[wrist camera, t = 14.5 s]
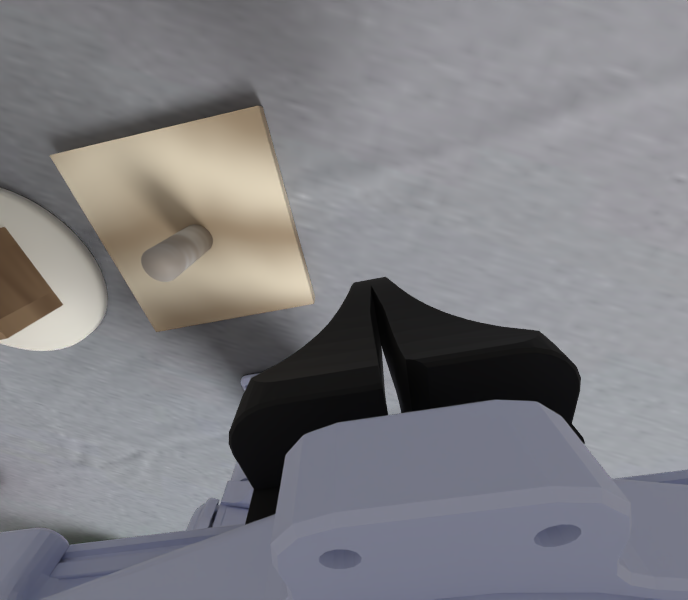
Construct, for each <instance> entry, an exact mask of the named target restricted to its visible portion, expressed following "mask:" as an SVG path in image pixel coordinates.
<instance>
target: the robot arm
mask: <svg viewBox="0 0 688 600" xmlns="http://www.w3.org/2000/svg"><path fill="white" fill-rule="evenodd" d="M381 346H382V348H381ZM382 349H383V352H384V355H385V358H386V361H387V364H388V368H389V371H390V374H391V377H392V380H393V383H394V386H395V389H396V392H397V396H398V400H399V404H400V408H401V413H400V414H393V415H388V411H387V405H386V398H385V388H384V375H383V361H382ZM240 382H241V385H242V387H243V389H244V391H245V392H244V394H243V397H242V399H241V402H240V404H239V407H238V410H237V412H236V415H235V418H234V420H233V423H232V426H231V429H230V431H229V445H230V448H231V451H232V453H233V455H234V457H235V459H236V460H237V462H236V465H235V468H234V471H233V474H232V477H231V480H229V481H228V482H227V485H226V488H225V491H224V494H223V497H222V500H221V504H220V505H218V503H219V500H218V499H215V498H209V499H208V500H207V502H206V503H204V504H203V505H201V506H200V507H199V508H197V509H196V511H195V512H194V514H193V516H192V518H191V520H190V522H189V525H188V527H187V529H186V531H179V532H170V533H162V534H154V535H146V536H137V537H129V538H121V539H113V540H104V541H96V542H88V543H80V544H71V545H69V543H68V541H67V540H66V539H65V538H64V537H63V536H62V535H61V534H59V533H58V532H56V531H54V530H51V529H47V528H29V529H21V530H13V531H5V532H0V600H688V470H682V471H674V472H665V473H657V474H649V475H641V476H632V477H624V478H616V479H613V478H611V477H610V476H609V475H608V474H607V472H606V471H605V470H604V469H603V467H602V466H601V465H600V464H599V462H598V461H597V460H596V459H595V457H594V456H593V455H592V454H591V452H590V451H589V450H588V449H587V447H586V446H585V445H584V444H585V442H584V439H583V437H582V436H581V435H580V433H579V432H578V431H577V430H576V428H575V427H574V426H573V425H572V420H573V416H574V413H575V409H576V405H577V401H578V397H579V393H580V382H581V377H580V375H579V372H578V369H577V367H576V365H575V364H574V363H573V362H572V361H571V360H570V359H569V358H568V357H567V356H566V355H565V354H564V353H563V352H562V351H561V350H560V349H559V348H558V347H557V346H556V345H555V344H554V343H553V342H551V341H550V340H549V339H548V338H547V337H546V336H545V335H543V334H542V333H541V332H540V331H535V330H526V329H518V328H509V327H501V326H495V325H490V324H485V323H480V322H475V321H471V320H467V319H464V318H460V317H457V316H454V315H451V314H448V313H445V312H442V311H440V310H438V309H435V308H433V307H431V306H429V305H426V304H424V303H423V302H421V301H419V300H417V299H415V298H414V297H412V296H410V295H409V294H408V293H406V292H405V291H403V290H402V289H400V288H399V287H398V286H397V285H395V284H394V283H393V282H392V281H390V280H389V279H388V278H386V277H382V278H377V279H371V280H366V281H360V282H355V283H353V285H352V286H351V288H350V291H349V293H348V295H347V297H346V299H345V300H344V302H343V304H342V305H341V307H340V309H339V310H338V311H337V313H336V314H335V316H334V317H333V318H332V320H331V321H330V322H329V324H328V325H327V326H326V327H325V328H324V329H323V330H322V331H321V332H320V333H319V334H318V335H317V336H316V337H314V338H313V339H312V340H311V341H310V342H308V343H307V344H306V345H305V346H304V347H302V348H301V349H300V350H298V351H297V352H296V353H294V354H293V355H291V356H290V357H288V358H286V359H285V360H283V361H282V362H280V363H278V364H277V365H275V366H273V367H271V368H269V369H267V370H265V371H264V372H262V373H258V374H252V375H246V376H243V377H242V379H241V381H240Z"/></svg>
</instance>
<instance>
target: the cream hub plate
mask: <svg viewBox="0 0 688 600" xmlns="http://www.w3.org/2000/svg"><path fill="white" fill-rule="evenodd" d="M2 227H6V229H7V230H8V231H9V233H10V234H11V235H12V237H13V238H14V239H15V241H16V242H17V244H18V245H19V246H20V248H21V249H22V250H23V252H24V253H25V254H26V256H27V257H28V258H29V260H30V261H31V262H32V264H33V265H34V266H35V268H36V269H37V270H38V272H39V273H40V274H41V276H42V277H43V278H44V280H45V281H46V282H47V284H48V285H49V286H50V288H51V289H52V290H53V292H54V293H55V294H56V296H57V297H58V298H59V300H60V301H61V302H62V304H63V305H62V306H61V307H59V308H57V309H56V310H54V311H52V312H51V313H49V314H47V315H46V316H44V317H42V318H41V319H39V320H37V321H36V322H34V323H32V324H31V325H29V326H27V327H26V328H24V329H22V330H21V331H19V332H17V333H16V334H14V335H12V336H11V337H9V338H7V339H2V340H0V343H1V344H4V345H7V346H11V347H15V348H20V349H26V350H35V351H51V350H59V349H63V348H67V347H70V346H72V345H75V344H76V343H78V342H80V341H81V340H83V339H84V338H85V337H87V336H88V335H89V334H90V333H92V332H93V331H94V330H95V329H96V328H97V327H98V326H99V325H100V323H101V322H102V320H103V318H104V316H105V314H106V310H107V303H108V295H107V287H106V284H105V280H104V277H103V275H102V272H101V270H100V267H99V266H98V264H97V262H96V260H95V259H94V257H93V255H92V254H91V253H90V251H89V250H88V248H87V247H86V246H85V245H84V243H83V242H82V241H81V240H80V239H79V238H78V236H77V235H76V234H75V233H74V232H73V231H72V230H71V229H70V228H68V227H67V226H66V225H65V224H64V223H63V222H62V221H60V220H59V219H58V218H57V217H55V216H54V215H53V214H51V213H50V212H48V211H47V210H46V209H44V208H43V207H41V206H39V205H38V204H36V203H34V202H32V201H31V200H29V199H27V198H25V197H23V196H21V195H18V194H16V193H14V192H12V191H9V190H6V189H3V188H0V228H2Z"/></svg>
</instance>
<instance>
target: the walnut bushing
mask: <svg viewBox="0 0 688 600" xmlns="http://www.w3.org/2000/svg"><path fill="white" fill-rule="evenodd" d="M62 305H63V304H62V302H61V301H60V300H59V298H58V297H57V296H56V294H55V293H54V292H53V290H52V289H51V288H50V286H49V285H48V284H47V282H46V281H45V280H44V278H43V277H42V276H41V274H40V273H39V272H38V270H37V269H36V268H35V266H34V265H33V264H32V262H31V261H30V260H29V258H28V257H27V256H26V254H25V253H24V252H23V250H22V249H21V248H20V246H19V245H18V244H17V242H16V241H15V239H14V238H13V237H12V235H11V234H10V233H9V231H8V230H7V229H6V227H2V228H0V340H2V339H7V338H9V337H11V336H12V335H14V334H16V333H17V332H19V331H21V330H22V329H24V328H26V327H27V326H29V325H31V324H32V323H34V322H36V321H37V320H39V319H41V318H42V317H44V316H46V315H47V314H49V313H51V312H52V311H54V310H56V309H57V308H59V307H61V306H62Z"/></svg>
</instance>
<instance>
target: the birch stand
mask: <svg viewBox="0 0 688 600" xmlns="http://www.w3.org/2000/svg"><path fill="white" fill-rule="evenodd" d="M50 157H51V159H52V160H53V162H54V164H55V165H56V167H57V169H58V170H59V172H60V174H61V175H62V177H63V179H64V180H65V182H66V183H67V185H68V187H69V188H70V190H71V192H72V193H73V195H74V197H75V198H76V200H77V202H78V203H79V205H80V207H81V208H82V210H83V212H84V213H85V215H86V217H87V218H88V220H89V222H90V223H91V225H92V227H93V228H94V230H95V232H96V233H97V235H98V236H99V238H100V240H101V241H102V243H103V245H104V246H105V248H106V250H107V251H108V253H109V255H110V256H111V258H112V260H113V261H114V263H115V265H116V266H117V268H118V270H119V271H120V273H121V275H122V276H123V278H124V280H125V281H126V283H127V285H128V286H129V288H130V289H131V291H132V293H133V294H134V296H135V298H136V299H137V301H138V303H139V304H140V306H141V308H142V309H143V311H144V313H145V314H146V316H147V318H148V319H149V321H150V323H151V324H152V326H153V328H154V329H155V331H156V332H159V331H165V330H170V329H176V328H181V327H187V326H193V325H198V324H204V323H209V322H215V321H220V320H226V319H231V318H237V317H243V316H248V315H254V314H259V313H265V312H270V311H276V310H282V309H287V308H293V307H298V306H304V305H309V304H314V300H315V295H314V292H313V288H312V284H311V281H310V277H309V274H308V270H307V266H306V263H305V259H304V255H303V252H302V248H301V245H300V241H299V237H298V234H297V230H296V226H295V223H294V219H293V216H292V212H291V208H290V205H289V201H288V197H287V194H286V190H285V187H284V183H283V179H282V176H281V172H280V168H279V165H278V161H277V158H276V154H275V150H274V147H273V143H272V139H271V136H270V132H269V128H268V125H267V121H266V118H265V114H264V110H263V107H261V106H254V107H250V108H246V109H241V110H237V111H233V112H229V113H225V114H220V115H216V116H212V117H208V118H204V119H199V120H195V121H191V122H187V123H183V124H178V125H174V126H170V127H166V128H162V129H157V130H153V131H149V132H145V133H141V134H137V135H132V136H128V137H124V138H120V139H116V140H111V141H107V142H103V143H99V144H95V145H90V146H86V147H82V148H78V149H74V150H69V151H65V152H61V153H57V154H53V155H50Z"/></svg>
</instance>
